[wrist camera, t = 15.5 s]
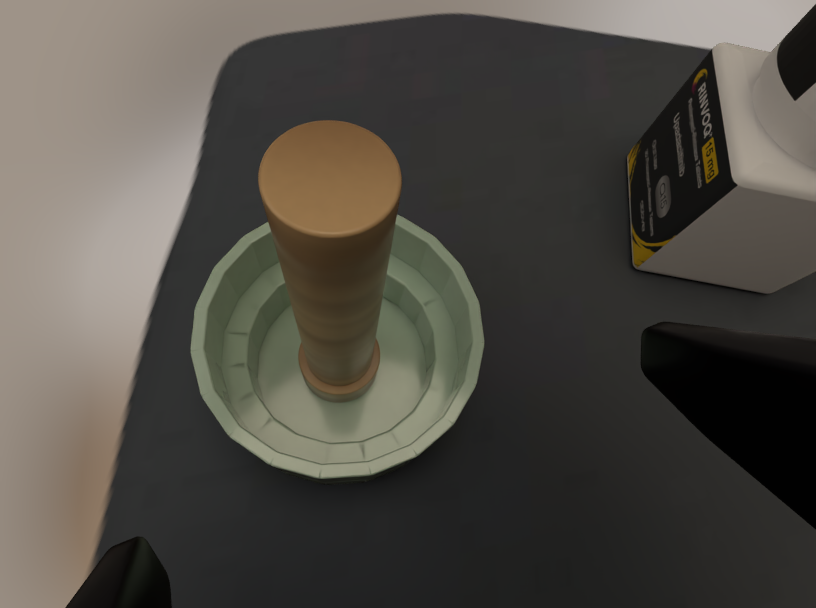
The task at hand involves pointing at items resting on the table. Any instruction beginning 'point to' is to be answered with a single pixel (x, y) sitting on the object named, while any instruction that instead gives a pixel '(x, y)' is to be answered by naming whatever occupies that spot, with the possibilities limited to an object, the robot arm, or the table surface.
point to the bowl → (283, 381)
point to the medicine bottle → (732, 170)
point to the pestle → (333, 246)
